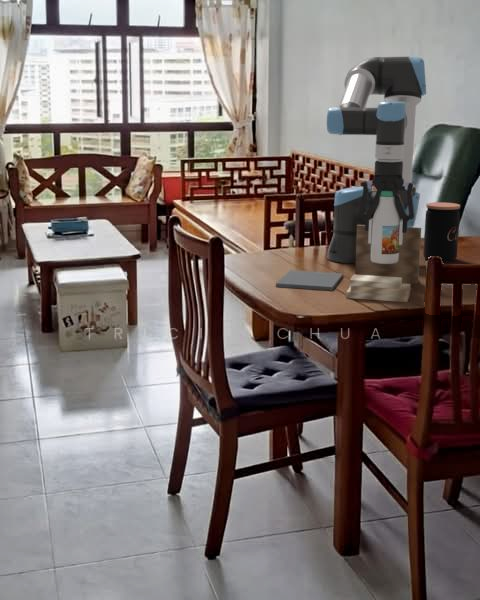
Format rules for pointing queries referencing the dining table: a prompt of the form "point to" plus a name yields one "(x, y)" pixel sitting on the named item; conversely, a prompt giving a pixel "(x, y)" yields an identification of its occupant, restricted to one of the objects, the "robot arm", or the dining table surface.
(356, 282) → the offcut rack
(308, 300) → the dining table surface
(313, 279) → the charcoal mat
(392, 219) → the milk bottle
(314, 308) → the dining table surface
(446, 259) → the coffee jar
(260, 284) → the dining table surface
